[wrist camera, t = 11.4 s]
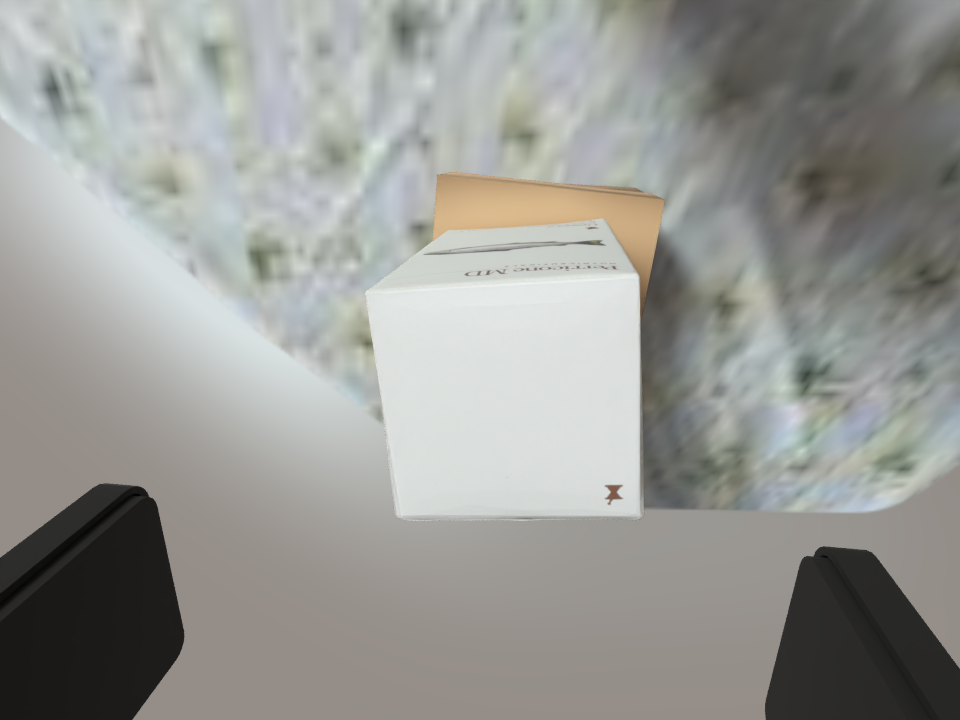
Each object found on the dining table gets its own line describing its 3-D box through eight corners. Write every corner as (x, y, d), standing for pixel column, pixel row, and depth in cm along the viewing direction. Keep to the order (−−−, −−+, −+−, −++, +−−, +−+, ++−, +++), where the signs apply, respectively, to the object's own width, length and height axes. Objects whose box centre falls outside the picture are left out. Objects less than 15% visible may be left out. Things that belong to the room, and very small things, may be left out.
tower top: (452, 171, 30) (437, 175, 26) (651, 193, 29) (665, 200, 26) (438, 356, 34) (422, 381, 30) (616, 380, 33) (623, 410, 29)
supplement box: (608, 214, 26) (654, 269, 14) (609, 371, 28) (649, 531, 17) (443, 224, 27) (357, 285, 15) (458, 376, 29) (393, 530, 18)
